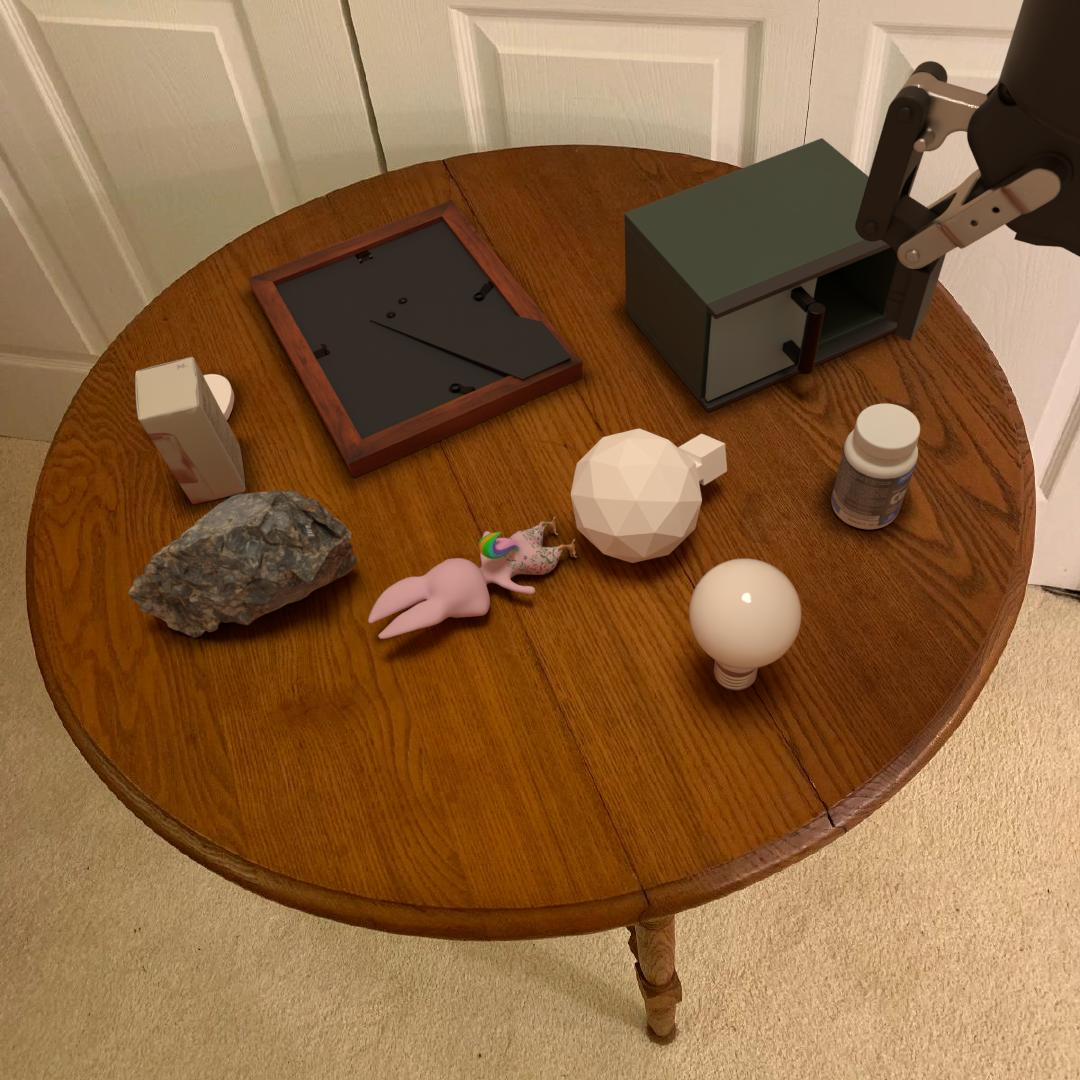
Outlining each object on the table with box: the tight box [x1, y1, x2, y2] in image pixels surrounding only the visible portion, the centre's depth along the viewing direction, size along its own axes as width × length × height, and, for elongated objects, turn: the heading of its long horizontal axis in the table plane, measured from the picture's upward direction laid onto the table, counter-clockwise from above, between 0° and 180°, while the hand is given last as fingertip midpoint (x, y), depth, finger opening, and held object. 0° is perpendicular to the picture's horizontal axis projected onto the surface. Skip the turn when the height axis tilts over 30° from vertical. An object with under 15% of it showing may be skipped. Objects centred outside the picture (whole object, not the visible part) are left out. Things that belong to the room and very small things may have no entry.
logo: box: [203, 373, 235, 421], centre depth 82 cm, size 6×1×8 cm
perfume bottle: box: [570, 428, 728, 564], centre depth 68 cm, size 9×9×12 cm
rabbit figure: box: [367, 515, 578, 640], centre depth 67 cm, size 6×6×15 cm
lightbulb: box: [688, 557, 803, 692], centre depth 59 cm, size 6×6×11 cm
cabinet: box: [623, 137, 898, 413], centre depth 78 cm, size 13×18×10 cm
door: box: [705, 278, 825, 401], centre depth 73 cm, size 4×9×8 cm, turn 116°
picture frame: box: [247, 199, 584, 479], centre depth 84 cm, size 20×2×25 cm
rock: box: [127, 489, 358, 639], centre depth 66 cm, size 14×10×10 cm
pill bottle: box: [830, 403, 921, 530], centre depth 67 cm, size 5×5×8 cm
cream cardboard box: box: [134, 356, 247, 505], centre depth 73 cm, size 5×4×10 cm
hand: (1014, 361), depth 40 cm, fingers open, 8 cm apart
